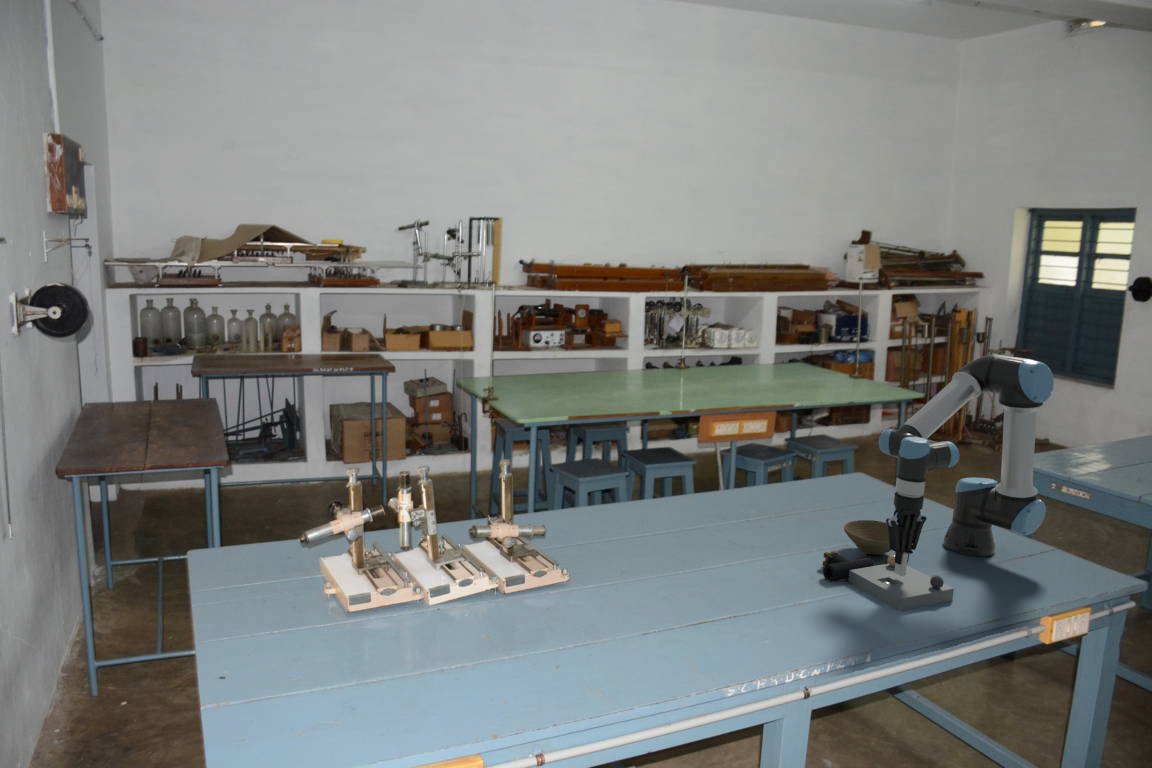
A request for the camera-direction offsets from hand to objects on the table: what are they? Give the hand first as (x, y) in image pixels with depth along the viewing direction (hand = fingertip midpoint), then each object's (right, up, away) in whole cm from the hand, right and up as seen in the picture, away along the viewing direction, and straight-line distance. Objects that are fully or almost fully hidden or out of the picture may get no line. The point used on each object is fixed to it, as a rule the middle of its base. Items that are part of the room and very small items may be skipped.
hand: (899, 574), depth 240 cm
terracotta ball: (+2, 0, +10) cm, 10 cm away
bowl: (+2, 0, +29) cm, 29 cm away
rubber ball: (+8, -3, -5) cm, 10 cm away
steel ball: (-3, -4, -1) cm, 5 cm away
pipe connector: (-13, -3, +12) cm, 18 cm away
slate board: (0, -5, +1) cm, 5 cm away
